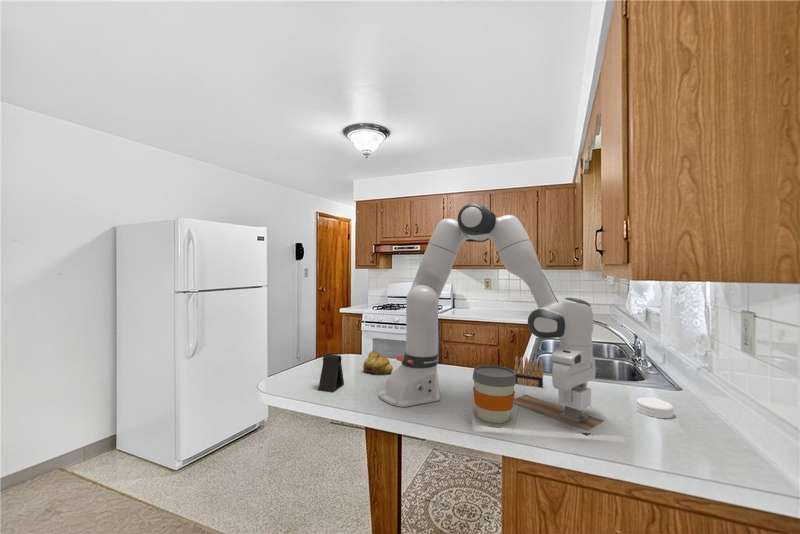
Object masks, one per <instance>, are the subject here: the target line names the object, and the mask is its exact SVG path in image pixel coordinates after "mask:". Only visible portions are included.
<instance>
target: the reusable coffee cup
mask: <svg viewBox="0 0 800 534" xmlns="http://www.w3.org/2000/svg"><path fill="white" fill-rule="evenodd" d="M472 380H473V384H474V385H473V387H472V389H473V399H474V401H473V402H474V404H475V407H476V415H477V417H478V418H479V419H480V420H482V421H485V422H489V423H494V424H495V423H496V424H499V423H500V424H501V423H505V422H508V421H509V420H510V417H511V410H512V409H513V407H514V404H513V401H514V399H515V394H516V393H515V386H516V385H517V384H516V375H515V372H514V369H511V368H509V367H504V366H501V365H491V364H489V365H488V364H486V365H485V364H483V365H478V366H475V367H474V368H473V371H472ZM487 427H490V428H495V429H496V428H498V429H499V428H500V429H501V428H502V426H493V425H492V426H491V425H490V426H489V425H488V426H487Z"/></svg>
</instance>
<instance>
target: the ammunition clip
mask: <svg viewBox="0 0 800 534" xmlns="http://www.w3.org/2000/svg"><path fill="white" fill-rule="evenodd" d="M538 362H539V363H538ZM538 364H539V365H538ZM543 367H544V365H543V359H542V358H540V360H539V361H538V359H537V358H535V359H534V360H533V357H530V359H529V360H528V357H527V356H526V357H525V360H524V358H523V356H521V357H520V359H519V358H518V355H515V359H514V367H513V371H514V372H515V375H516V384H515V385H517V384H518V385H522V386H529V387H535V388H536V387H538V388H540V389H541V388H542V389H543V388H544V368H543Z"/></svg>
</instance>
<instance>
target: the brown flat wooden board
mask: <svg viewBox="0 0 800 534" xmlns="http://www.w3.org/2000/svg"><path fill="white" fill-rule="evenodd" d="M513 405H515V406H518V407H520V408H523V409H527V410H529V411H532V412H535V413H538V414H540V415H543V416H545V417H549V418H551V419H554V420H557V421H560V422H562V423H565V424H568V425H570V426H573V427H576V428H579V429H582V430H585V431H591V429H594V428H595V427H596V426H598V425H600V424H601V423H603V422H604V421H605V420H604V419H600V418H598V417H596V416H591V415H588V414H586V413H584V412H583V411H584V409H583V410H581V411H580V410H577V409H574V408H571V407H568V406H565V405H564V406H563V405H560V404H555V403H552V402H549V401H545V400H543V399H540V398H537V397H534V396H530V395H527V394H524V395H521V396H518V397H514V401H513ZM580 434H581V435H584V436H586V437H588V436H590V435H591V434H592V433H591V432H590V433H589V432H580Z"/></svg>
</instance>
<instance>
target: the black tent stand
mask: <svg viewBox="0 0 800 534" xmlns="http://www.w3.org/2000/svg"><path fill="white" fill-rule="evenodd" d="M342 365H343V364H342V356H341V354H340V355H338V354H330V353H329V354H328V353H325V354H324V355H323V357H322V368H321V372H320V373H321V374H320V377H319V378H320V379H319V384H318V388H317V389H318V391H321V392H329V393H335V392H336V391H338V390H339V389H340V388H342V387H343V386H345V381H344V374H343V367H342Z"/></svg>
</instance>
